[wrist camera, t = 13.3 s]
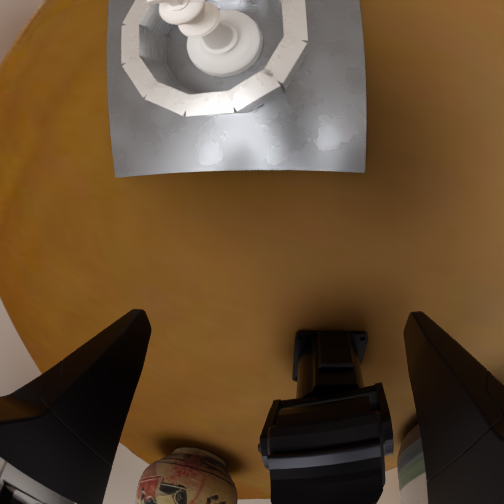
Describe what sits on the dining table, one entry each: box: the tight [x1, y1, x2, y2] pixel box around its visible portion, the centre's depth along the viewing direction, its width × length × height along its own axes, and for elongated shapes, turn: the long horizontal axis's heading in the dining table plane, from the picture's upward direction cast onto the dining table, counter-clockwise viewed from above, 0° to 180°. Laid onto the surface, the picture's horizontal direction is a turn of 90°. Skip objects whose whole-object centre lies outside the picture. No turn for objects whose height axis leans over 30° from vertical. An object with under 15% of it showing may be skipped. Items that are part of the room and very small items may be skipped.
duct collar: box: [107, 0, 366, 178], centre depth 14 cm, size 18×18×5 cm
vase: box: [397, 423, 428, 504], centre depth 19 cm, size 17×17×24 cm
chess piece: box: [147, 0, 263, 77], centre depth 11 cm, size 5×5×10 cm
